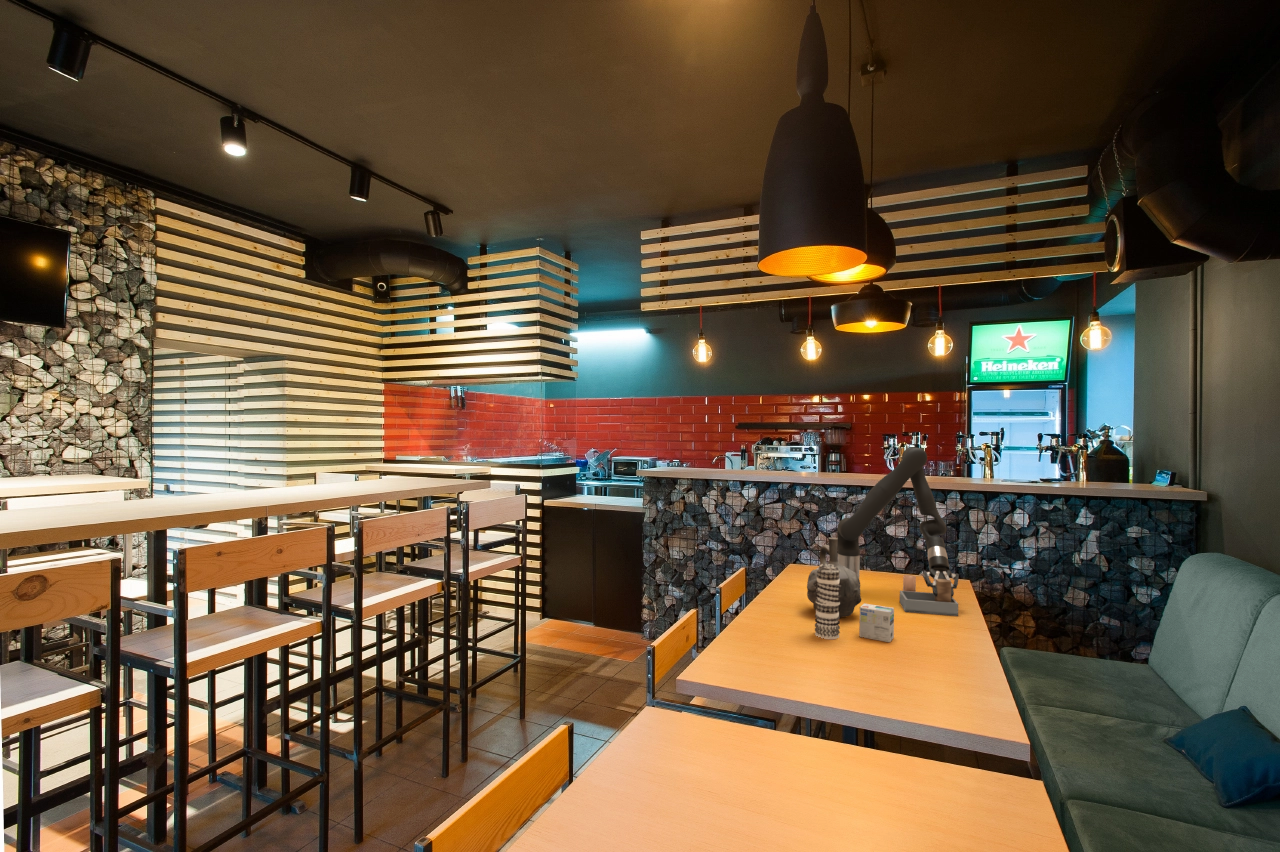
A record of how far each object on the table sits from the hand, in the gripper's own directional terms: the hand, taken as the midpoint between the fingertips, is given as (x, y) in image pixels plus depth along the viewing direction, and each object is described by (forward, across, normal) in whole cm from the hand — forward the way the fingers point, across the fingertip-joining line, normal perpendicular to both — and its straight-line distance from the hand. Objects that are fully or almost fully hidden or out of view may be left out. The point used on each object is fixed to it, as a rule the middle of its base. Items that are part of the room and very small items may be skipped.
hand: (943, 595), depth 259 cm
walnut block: (+2, 0, +4) cm, 5 cm away
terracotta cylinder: (-8, -10, +18) cm, 22 cm away
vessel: (+14, -43, -4) cm, 45 cm away
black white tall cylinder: (+35, -47, -24) cm, 63 cm away
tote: (+2, -5, +8) cm, 10 cm away
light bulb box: (+32, -30, -22) cm, 50 cm away
